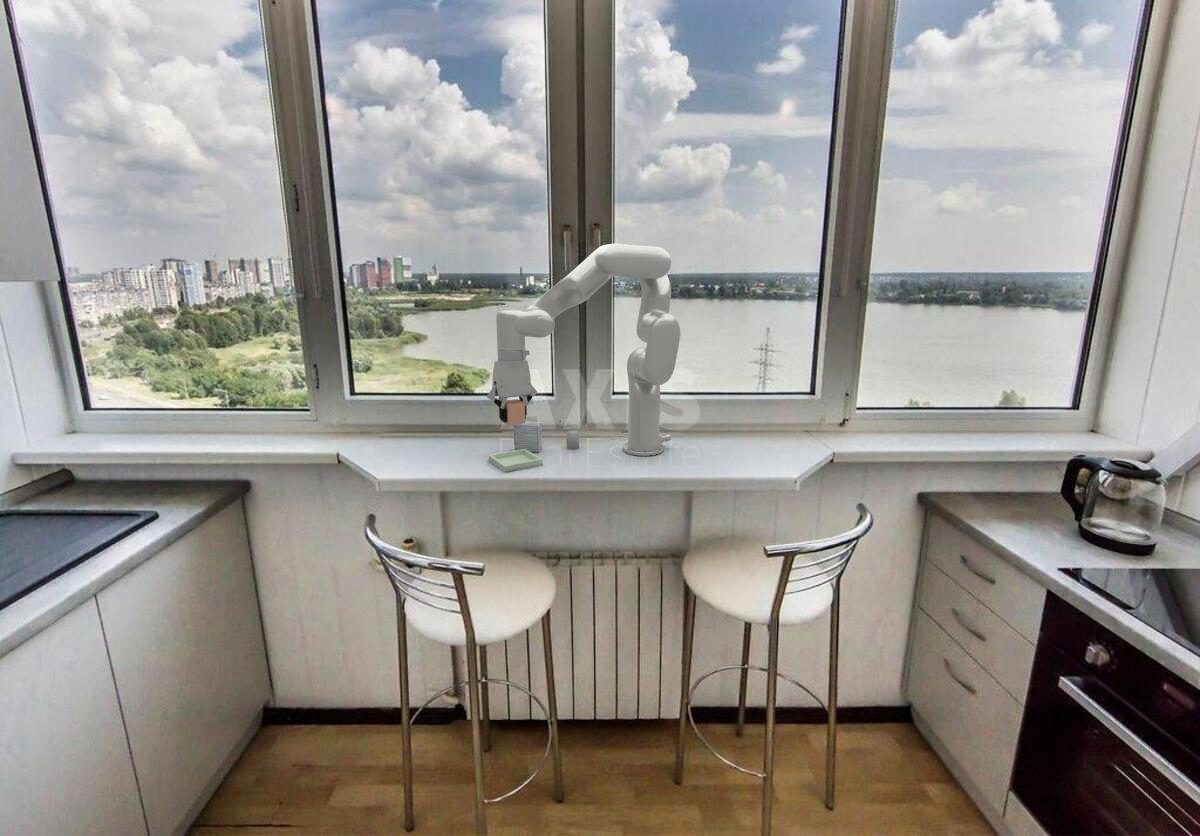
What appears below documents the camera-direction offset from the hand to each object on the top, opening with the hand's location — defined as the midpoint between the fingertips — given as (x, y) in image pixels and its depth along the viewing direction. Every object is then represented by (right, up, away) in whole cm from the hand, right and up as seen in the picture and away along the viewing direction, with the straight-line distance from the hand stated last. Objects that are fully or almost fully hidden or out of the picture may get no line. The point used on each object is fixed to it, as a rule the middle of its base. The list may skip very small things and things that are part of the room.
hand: (513, 419), depth 159 cm
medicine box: (+2, -10, +15) cm, 18 cm away
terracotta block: (0, -1, 0) cm, 1 cm away
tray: (0, -13, +3) cm, 13 cm away
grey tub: (+16, -9, +18) cm, 26 cm away
